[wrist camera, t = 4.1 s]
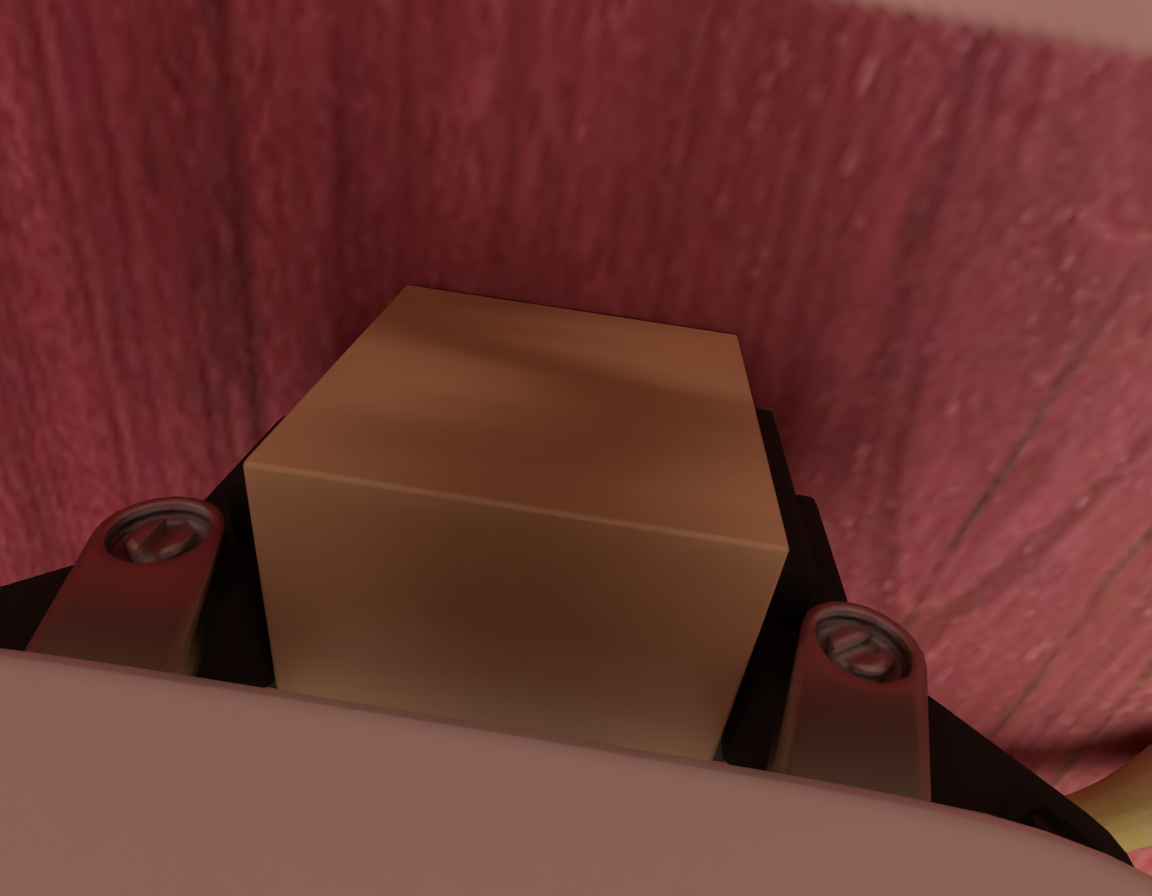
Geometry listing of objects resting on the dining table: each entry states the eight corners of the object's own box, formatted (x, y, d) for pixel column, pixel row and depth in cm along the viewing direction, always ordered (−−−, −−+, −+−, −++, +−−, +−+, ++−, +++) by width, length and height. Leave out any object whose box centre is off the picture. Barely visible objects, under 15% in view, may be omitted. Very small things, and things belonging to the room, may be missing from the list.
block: (406, 541, 13) (289, 789, 9) (406, 282, 11) (239, 462, 6) (673, 584, 13) (680, 854, 9) (738, 333, 11) (791, 549, 6)
